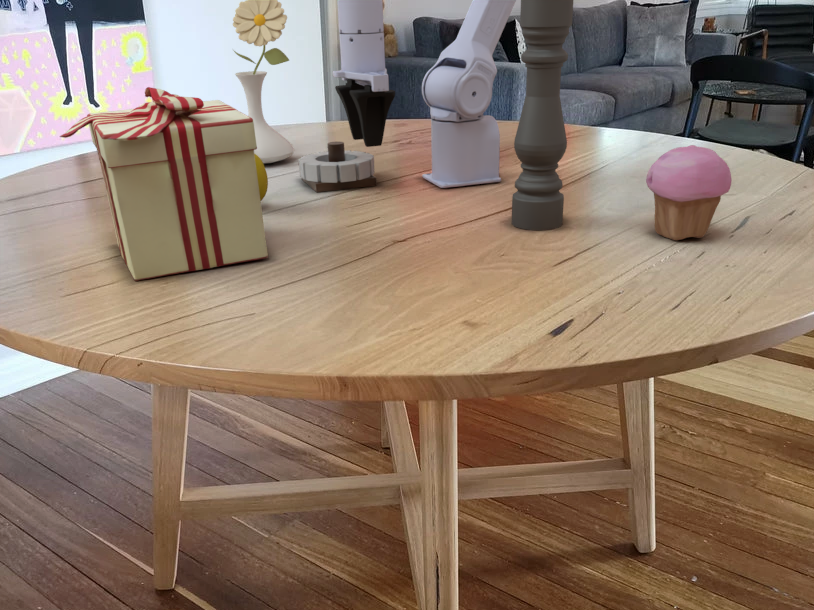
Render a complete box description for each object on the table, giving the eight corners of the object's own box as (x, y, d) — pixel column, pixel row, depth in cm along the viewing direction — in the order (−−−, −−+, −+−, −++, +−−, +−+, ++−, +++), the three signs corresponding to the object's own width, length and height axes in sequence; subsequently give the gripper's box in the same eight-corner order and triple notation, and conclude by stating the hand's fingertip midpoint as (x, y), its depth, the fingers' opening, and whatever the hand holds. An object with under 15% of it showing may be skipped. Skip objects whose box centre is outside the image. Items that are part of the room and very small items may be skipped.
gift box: (79, 251, 95) (44, 92, 87) (234, 226, 103) (215, 78, 94) (110, 294, 82) (71, 111, 73) (284, 261, 89) (267, 93, 81)
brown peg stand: (358, 173, 127) (356, 135, 125) (376, 185, 120) (374, 145, 117) (301, 179, 125) (298, 140, 122) (316, 192, 117) (313, 151, 114)
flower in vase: (212, 167, 134) (188, -4, 123) (249, 153, 144) (231, -7, 132) (282, 171, 130) (264, -6, 118) (316, 157, 139) (303, -9, 127)
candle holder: (566, 217, 102) (580, -9, 90) (557, 231, 97) (571, -7, 85) (517, 214, 104) (525, -8, 92) (505, 228, 99) (512, -6, 87)
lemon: (262, 216, 107) (255, 152, 103) (222, 214, 108) (213, 151, 104) (276, 205, 111) (270, 144, 108) (238, 204, 112) (230, 143, 109)
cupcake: (697, 223, 98) (709, 136, 94) (737, 244, 91) (752, 150, 86) (627, 229, 97) (636, 141, 92) (663, 251, 89) (674, 156, 84)
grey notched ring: (360, 163, 128) (359, 147, 127) (384, 177, 119) (383, 160, 118) (292, 171, 124) (291, 154, 123) (312, 185, 116) (310, 168, 114)
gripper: (317, 31, 110) (324, 136, 117) (347, 37, 98) (354, 154, 105) (367, 28, 113) (372, 132, 119) (403, 34, 100) (406, 149, 107)
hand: (367, 142), depth 112 cm, fingers open, 5 cm apart
